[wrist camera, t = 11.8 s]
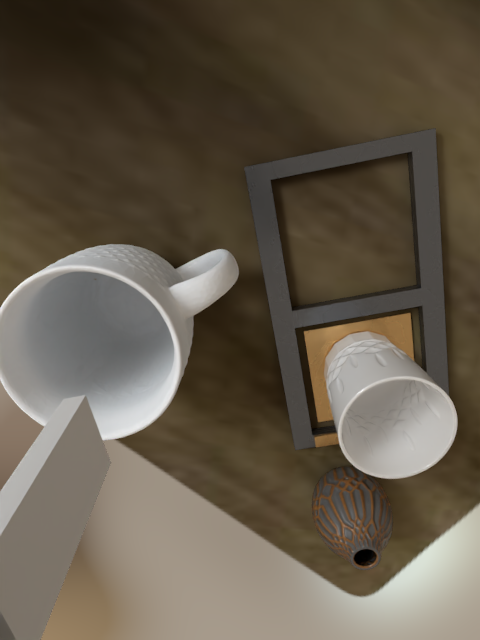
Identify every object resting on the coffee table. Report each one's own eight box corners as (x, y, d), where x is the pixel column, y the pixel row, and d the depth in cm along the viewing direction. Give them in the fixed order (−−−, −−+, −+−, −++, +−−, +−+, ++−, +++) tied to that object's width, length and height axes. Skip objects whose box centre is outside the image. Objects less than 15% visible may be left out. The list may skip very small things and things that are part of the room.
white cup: (347, 421, 42) (377, 497, 32) (299, 357, 40) (315, 418, 30) (424, 375, 40) (479, 441, 31) (377, 306, 38) (420, 354, 29)
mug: (205, 181, 35) (182, 191, 23) (267, 303, 38) (278, 370, 26) (46, 268, 38) (-53, 319, 25) (117, 376, 41) (61, 469, 28)
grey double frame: (244, 167, 35) (244, 167, 34) (430, 129, 34) (436, 128, 33) (294, 443, 43) (295, 451, 42) (445, 419, 42) (451, 427, 40)
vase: (381, 508, 45) (411, 586, 37) (311, 517, 45) (326, 596, 37) (376, 450, 43) (408, 518, 35) (303, 459, 43) (317, 529, 35)
